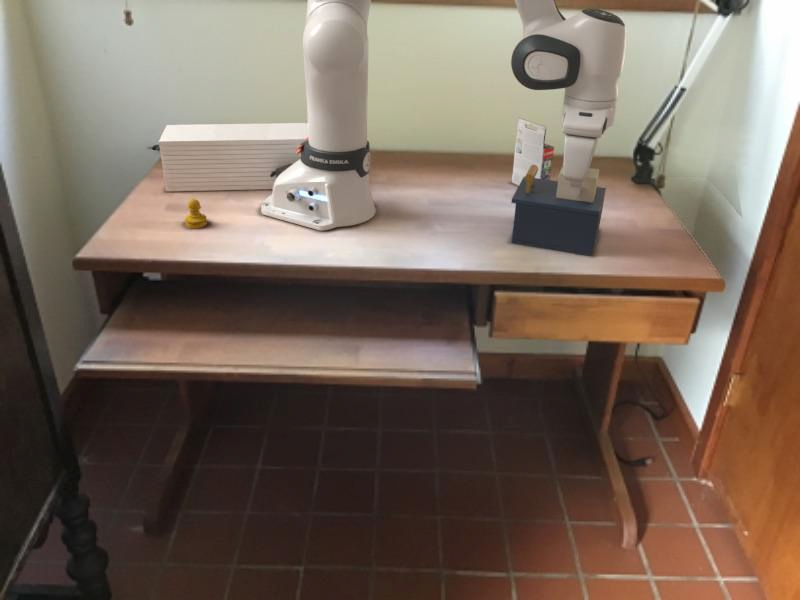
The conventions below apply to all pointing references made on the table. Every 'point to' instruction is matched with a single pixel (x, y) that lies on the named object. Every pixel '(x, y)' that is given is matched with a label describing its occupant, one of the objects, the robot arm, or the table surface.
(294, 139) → the white ribbed box
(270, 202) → the robot arm
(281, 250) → the table surface
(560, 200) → the lid
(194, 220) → the chess piece
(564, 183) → the cream box
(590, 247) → the chest
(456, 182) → the table surface
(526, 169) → the ink box
